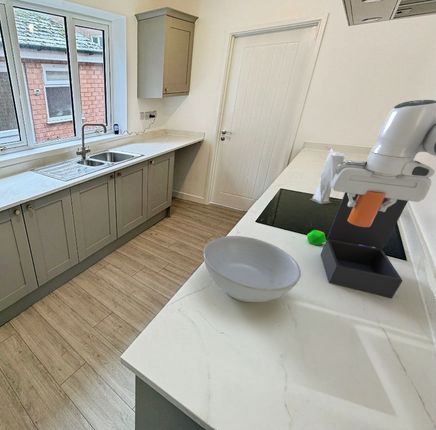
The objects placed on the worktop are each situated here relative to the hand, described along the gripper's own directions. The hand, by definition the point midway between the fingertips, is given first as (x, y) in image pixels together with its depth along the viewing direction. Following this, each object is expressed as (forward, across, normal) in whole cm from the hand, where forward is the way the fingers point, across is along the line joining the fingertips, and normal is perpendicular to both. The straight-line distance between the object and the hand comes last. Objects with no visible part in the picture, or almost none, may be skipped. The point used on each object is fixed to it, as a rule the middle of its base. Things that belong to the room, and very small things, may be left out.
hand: (365, 208), depth 79 cm
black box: (+26, +5, +2) cm, 26 cm away
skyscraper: (+26, +5, +72) cm, 77 cm away
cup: (+5, 0, 0) cm, 5 cm away
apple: (+26, -3, +21) cm, 33 cm away
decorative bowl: (+26, -28, -21) cm, 43 cm away
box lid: (+8, +5, +11) cm, 14 cm away
